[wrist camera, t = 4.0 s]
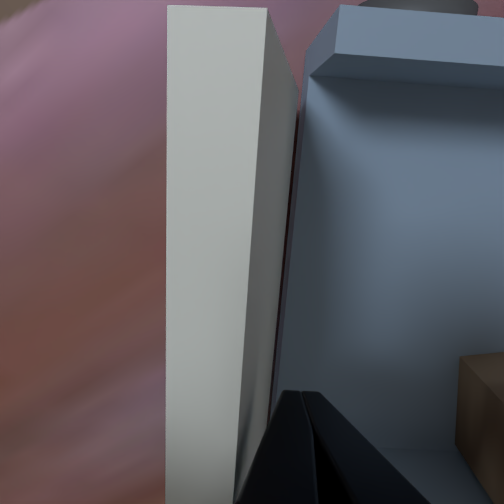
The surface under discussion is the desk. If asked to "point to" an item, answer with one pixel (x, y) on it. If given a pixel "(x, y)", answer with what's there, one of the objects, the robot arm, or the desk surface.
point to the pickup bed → (398, 228)
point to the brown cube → (482, 419)
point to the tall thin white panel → (222, 241)
